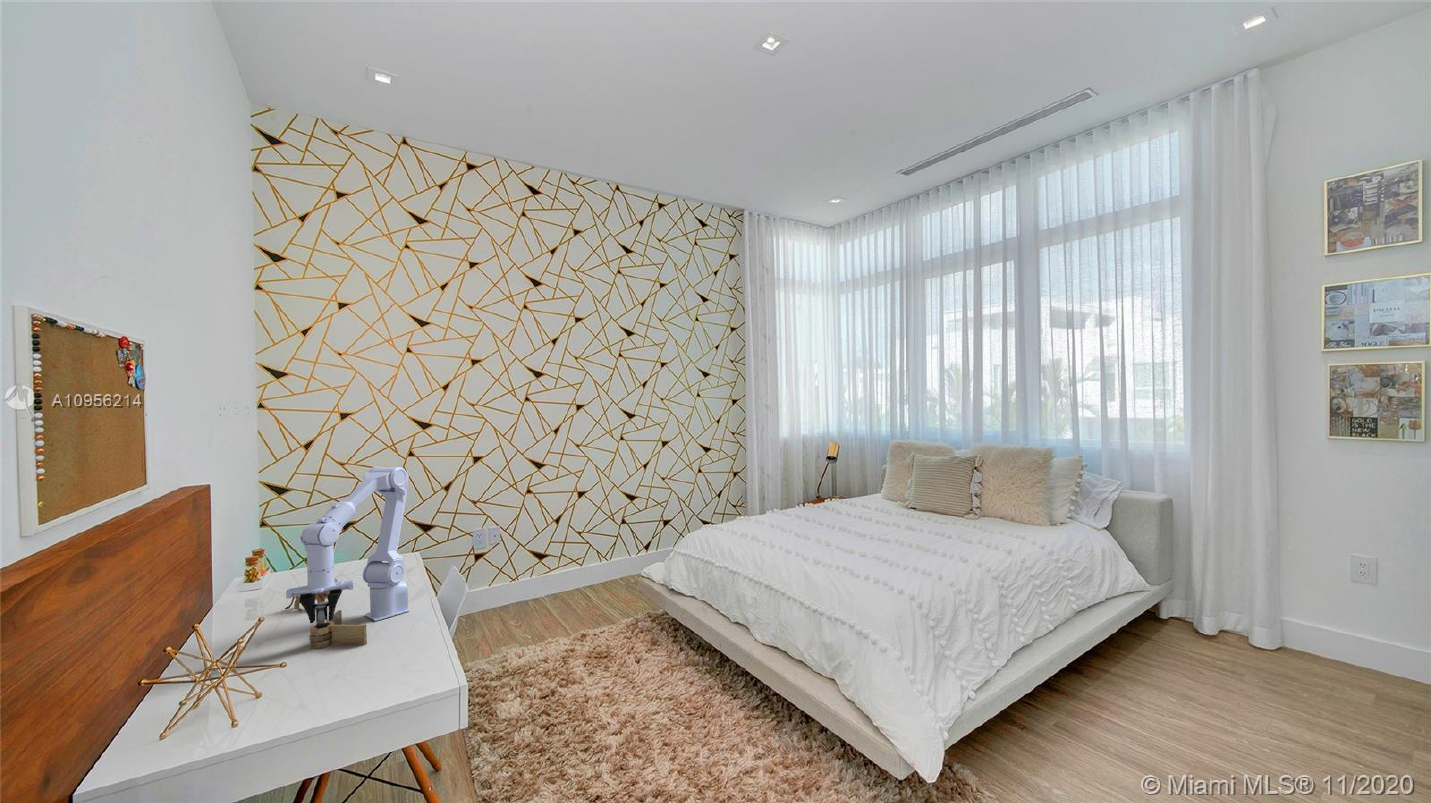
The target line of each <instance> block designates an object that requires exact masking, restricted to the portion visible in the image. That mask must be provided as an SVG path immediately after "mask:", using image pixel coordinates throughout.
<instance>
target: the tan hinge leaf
mask: <svg viewBox="0 0 1431 803" xmlns="http://www.w3.org/2000/svg"><path fill="white" fill-rule="evenodd" d="M329 632H332V638H329V639H326V640H324V641H316V642H313V641H310V640H309V642H310V643H309V644H310V648H311V649H314V650H315V649H317V650H318V649H322V648H326V647H329V646H366V645H367V644H368V642H367V640H368V639H367V638H368V637H367V635H368V634H367V624H342V625H334V622H333V621H328V626H326V627H322V628H316V623H315V624H313V625H311V626H310V627H309V635H310V634H311V635H322V634H326V633H329Z"/></svg>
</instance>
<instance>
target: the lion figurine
mask: <svg viewBox="0 0 1431 803" xmlns="http://www.w3.org/2000/svg"><path fill="white" fill-rule="evenodd" d="M335 581H338V579H336V578H335V577H334V582H335ZM329 593H330V592H325V593H318V594H315V601H317V602H316V603H320V602H326V600H328V597H327V595H328V594H329ZM299 599H300V596H296V597H292V599H291V601H290V604H289V605H288V606H286V607H285V608H284V610H288V609H290V608H291V606H293V603H294V606H293V607H294V609H296V611H297V612H302V611H303V608H301V607H300V604H301V603H300V602H299Z"/></svg>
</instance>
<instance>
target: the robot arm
mask: <svg viewBox="0 0 1431 803" xmlns="http://www.w3.org/2000/svg"><path fill="white" fill-rule="evenodd" d="M409 478H410V475H409V473H408V472H407V470H406V469H405V468H404V467H401V466H397V467H396V466H394V467H393V466H391V467H390V466H389V467H387V466H386V467H385V466H381V467H380V466H374V467H371V468H370V469H369V470H368V471H367V472H365V473H364V475H363V480H362V481H361V482H360V483H359V484H358V486H357V487H356V488H355V489H354V490H353V491H352V492H351V493H350V494H349V496H347V498H346V499H345V500H344V501H337V502H336V503H335V502H334V503H333V504H332V505H330V508H329V510H328V511H326V512H325V513H324V514H323V515H322V516H320V517H319V518H318V519H317V521H316V522H314V523H310V524H308V525H307V526H306V527H305V528H304V529H303V530H302V533H301V535H300V536H299V539H300V542H301V543H302V545H303V546H304V551H305V552H306V569H307V570H306V573H307V576H306V577H307V579H306V580H307V584H306V585H302V586H299V587H293V588H288V589H287V590H286V591H285V594H286V595H285V598H286V599H287V600H288V599H291V598H293V597H295V598H296V596H300V599H299V602H300V604H301V606H302V608H304V610H305V611H306V612H305V613H306V614H307V617H308V619H309V623H310V624H314V622H316V609H313V605H314V604H316V600H315V594H318V593H325V592H330V593H329V594H328V595H327V597H328V598H327V601H328V604H329V606H328V615H327V616H328V619H329V620H332V619H333V618H334V614H335V613H336V607H337V604H338V601H339V599H340V596H341V595H342V592H343V591H346V590H348V591H351V590H352V591H353V590H354V589H355V586H356V585H355V584H356V583H355V581H356V580H355V579H353V580H352V579H351V580H342V581H341V580H339V581H338V580H337V581H335V582H334V578H335V555H334V554H335V550H334V547H335V545H334V543H336V542H337V541H338V539H339V538H340V534H341V532H342V529H343V527H344V526H346V525H347V524H349V522H350V520H352V519H353V518H354V517H355V516H356V509H357V508H358V507H359V506H360V505H361V504H362V503H363V502H365V501H366V500H367V499H368V498H369V497H370V496H372V494H373V493H375V492H377V493H379V494H381V495H382V496H383V497H384V498H385V500H384V501H385V502H384V506H383V507H384V508H383V513H382V518H381V525H380V528H379V533H378V534H379V535H378V540H377V546H376V551H375V552H373V553H372V554H371V555H370V556H369V557H368V559H367V563H366V565H365V567H364V568H363V571H362V580H363V581H364V582H365V583H366V584H367V587H369V607H370V609H369V610H370V611H369V612H367V613H365V614H364V616H365V617H367V618H368V619H370V620H372V621H373V622H377V621H380V620H384V619H385V620H386V619H389V618H390V617H395V616H397V615H401V614H405V613H408V612H410V609H409V590H408V585H407V583H406V580H403V578H404V574H405V567H404V561H405V559H404V558H403V556H402V555H401V554H399V553H398V547H399V542H400V537H401V530H402V523H403V518H404V514H405V507H406V502H407V496H408V491H407V490H408V485H409Z"/></svg>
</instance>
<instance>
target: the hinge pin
mask: <svg viewBox="0 0 1431 803" xmlns="http://www.w3.org/2000/svg"><path fill="white" fill-rule="evenodd" d="M328 608H329V604H328V600H327V601H326V600H325V602H320V603H318V602H315V604H314V605H313V609H315V616H316V617H315V624H316V628H322V627H326V626H328V619H329V617H328V616H329V615H328Z"/></svg>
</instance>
